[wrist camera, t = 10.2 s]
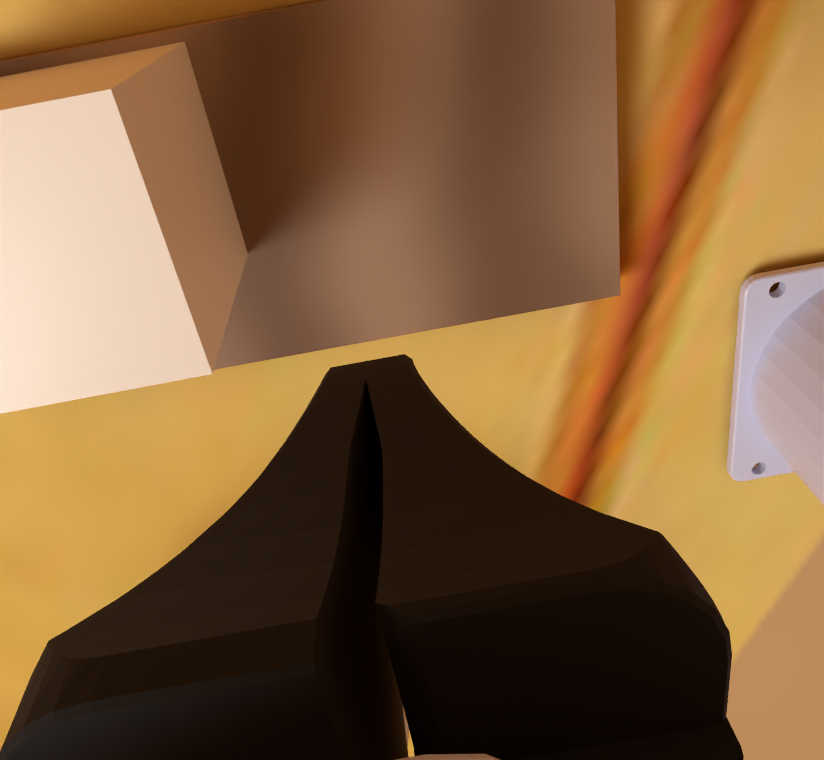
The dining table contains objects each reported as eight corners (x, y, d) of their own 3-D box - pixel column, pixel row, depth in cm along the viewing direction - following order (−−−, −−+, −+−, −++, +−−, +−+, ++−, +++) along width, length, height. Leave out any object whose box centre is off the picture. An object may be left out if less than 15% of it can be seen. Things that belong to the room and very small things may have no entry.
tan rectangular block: (184, 41, 18) (110, 88, 12) (247, 253, 20) (212, 373, 15) (-38, 84, 18) (-216, 152, 12) (55, 289, 20) (-54, 423, 15)
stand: (601, -53, 18) (614, -53, 17) (609, 281, 23) (620, 295, 22) (-117, 82, 18) (-139, 88, 18) (36, 386, 23) (24, 404, 22)
